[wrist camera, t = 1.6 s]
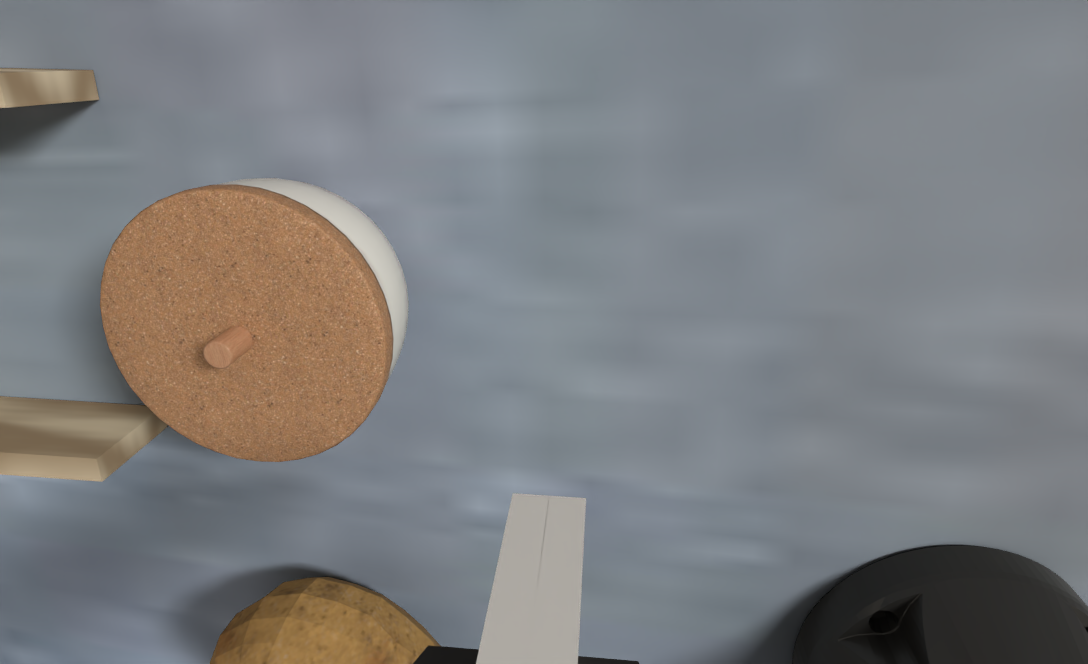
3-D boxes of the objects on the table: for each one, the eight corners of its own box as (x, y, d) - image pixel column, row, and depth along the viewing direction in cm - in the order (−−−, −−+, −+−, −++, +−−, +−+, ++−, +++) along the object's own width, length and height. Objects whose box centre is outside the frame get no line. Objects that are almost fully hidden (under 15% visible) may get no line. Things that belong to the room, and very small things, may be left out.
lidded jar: (245, 385, 35) (124, 495, 26) (181, 169, 31) (14, 214, 22) (453, 371, 33) (398, 481, 25) (413, 144, 30) (332, 181, 21)
